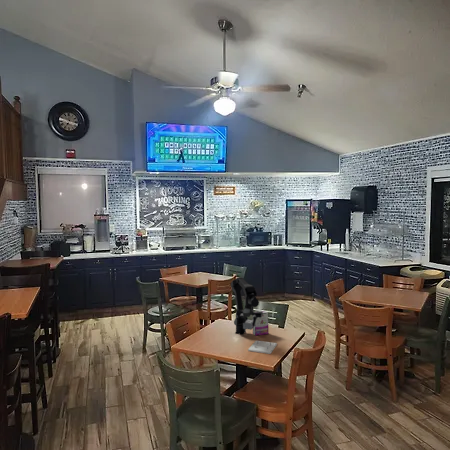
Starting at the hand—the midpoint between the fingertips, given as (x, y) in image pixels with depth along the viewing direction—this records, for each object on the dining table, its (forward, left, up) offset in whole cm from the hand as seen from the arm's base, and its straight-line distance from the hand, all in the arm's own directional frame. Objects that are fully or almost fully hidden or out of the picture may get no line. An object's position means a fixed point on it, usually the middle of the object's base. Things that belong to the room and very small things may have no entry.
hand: (249, 325), depth 274 cm
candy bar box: (+4, +15, -11) cm, 19 cm away
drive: (0, 0, -1) cm, 1 cm away
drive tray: (+13, -11, -11) cm, 20 cm away
